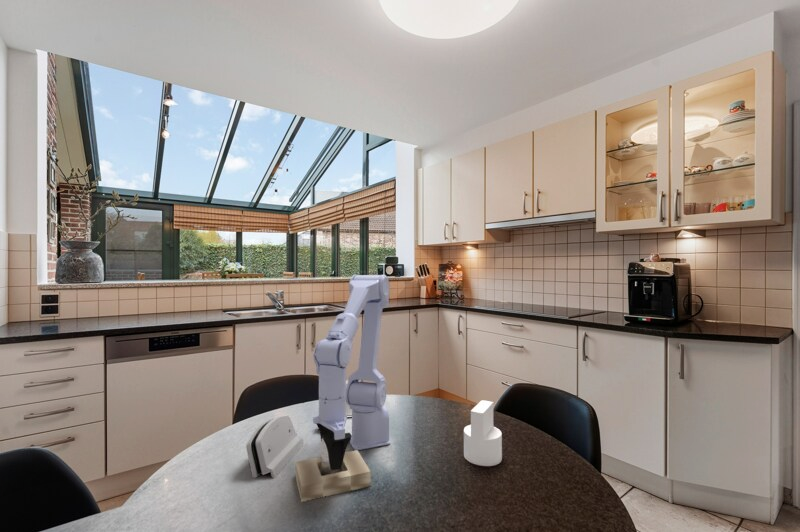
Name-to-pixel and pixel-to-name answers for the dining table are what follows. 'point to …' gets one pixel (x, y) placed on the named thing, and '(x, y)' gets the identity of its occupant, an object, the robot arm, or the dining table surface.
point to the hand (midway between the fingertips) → (332, 459)
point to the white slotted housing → (273, 446)
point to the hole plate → (331, 477)
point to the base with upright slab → (482, 437)
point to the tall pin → (326, 462)
